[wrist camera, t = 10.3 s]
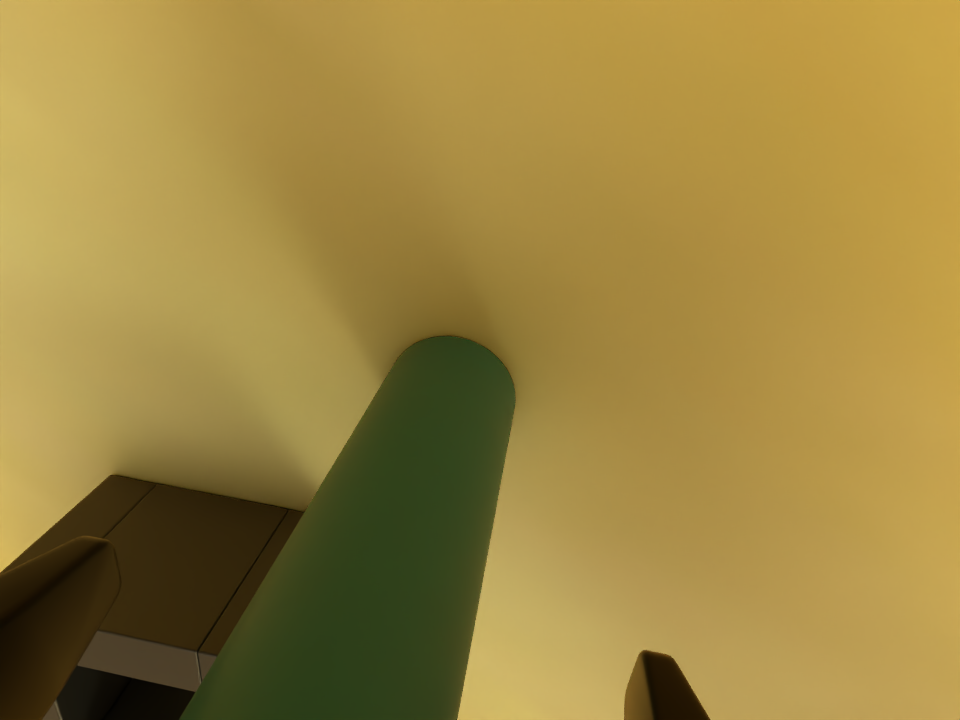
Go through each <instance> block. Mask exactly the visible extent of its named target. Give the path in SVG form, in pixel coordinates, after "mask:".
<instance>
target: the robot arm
mask: <svg viewBox="0 0 960 720" xmlns="http://www.w3.org/2000/svg"><path fill="white" fill-rule="evenodd" d="M121 582H122V579H121V574H120V569H119V565H118V560H117V555H116V551H115V547H114V545H113V543H112V542H111V541H109V540H107V539H102V538H97V537H92V536H81V537H77V538H75V539H73V540H71V541H69V542H67V543H65V544H62V545H60V546H58V547H56V548H54V549H52V550H50V551H48V552H46V553H44V554H42V555H40V556H38V557H36V558H34V559H31V560H29V561H27V562H25V563H23V564H21V565H19V566H17V567H15V568H13V569H11V570H9V571H7V572H5V573H3V574H0V720H42V719H43V718H44V716H45V715H46V713H47V712H48V711H49V709H50V708H51V706H52V705H53V703H54V702H55V700H56V699H57V697H58V696H59V694H60V692H61V691H62V689H63V688H64V686H65V685H66V683H67V681H68V680H69V678H70V676H71V675H72V673H73V671H74V669H75V668H76V666H77V664H78V663H79V661H80V659H81V658H82V656H83V654H84V653H85V651H86V649H87V648H88V646H89V644H90V643H91V641H92V639H93V637H94V636H95V634H96V632H97V631H98V629H99V627H100V626H101V624H102V622H103V621H104V619H105V617H106V616H107V614H108V612H109V610H110V609H111V607H112V605H113V604H114V602H115V600H116V599H117V597H118V594H119V592H120V589H121ZM624 720H710V718H709V717H708V715H707V713H706V712H705V710H704V708H703V706H702V705H701V703H700V701H699V700H698V698H697V696H696V695H695V693H694V691H693V690H692V688H691V686H690V685H689V683H688V681H687V680H686V678H685V676H684V675H683V673H682V671H681V670H680V668H679V666H678V664H677V663H676V661H675V660H674V659H673V658H672V657H671V656H669V655H667V654H662V653H657V652H652V651H648V650H643V651H641V653H640V654H639V655H638V658H637V660H636V663H635V666H634V669H633V671H632V674H631V677H630V680H629V683H628V685H627V689H626V694H625V705H624Z"/></svg>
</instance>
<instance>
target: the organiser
mask: <svg viewBox="0 0 960 720" xmlns="http://www.w3.org/2000/svg"><path fill="white" fill-rule="evenodd" d="M303 514H304V513H303V512H298V511H293V510H289V511H288V509H284V508H279V507H274V506H269V505H264V504H259V503H254V502H248V501H243V500H238V499H233V498H228V497H223V496H218V495H213V494H208V493H202V492H197V491H192V490H187V489H182V488H177V487H172V486H167V485H162V484H157V485H156V484H155V483H150V482H145V481H140V480H135V479H129V478H124V477H119V476H114V475H110V476H109V477H108V478H107V479H105V480H104V481H103V482H102V483H101V484H100V485H99V486H98V487H96V488H95V489H94V490H93V491H92V492H91V493H90V494H89V495H87V496H86V497H85V498H84V499H83V500H82V501H81V502H80V503H78V504H77V505H76V506H75V507H74V508H73V509H72V510H71V511H69V512H68V513H67V514H66V515H65V516H64V517H63V518H61V519H60V520H59V521H58V522H57V523H56V524H55V525H54V526H52V527H51V528H50V529H49V530H48V531H47V532H46V533H45V534H43V535H42V536H41V537H40V538H39V539H38V540H37V541H36V542H34V543H33V544H32V545H31V546H30V547H29V548H28V549H27V550H25V551H24V552H23V553H22V554H21V555H20V556H19V557H18V558H16V559H15V560H14V561H13V562H12V563H11V564H10V565H9V566H7V567H6V568H5V569H4V570H3V571H2V572H1V573H0V574H3V573H5V572H7V571H9V570H11V569H13V568H15V567H17V566H19V565H21V564H23V563H25V562H27V561H29V560H31V559H34V558H36V557H38V556H40V555H42V554H44V553H46V552H48V551H50V550H52V549H54V548H56V547H58V546H60V545H62V544H65V543H67V542H69V541H71V540H73V539H75V538H77V537H81V536H92V537H97V538H102V539H107V540H109V541H111V542H112V543H113V545H114V547H115V551H116V555H117V560H118V565H119V569H120V574H121V579H122V582H121V589H120V592H119V594H118V597H117V599H116V600H115V602H114V604H113V605H112V607H111V609H110V610H109V612H108V614H107V616H106V617H105V619H104V621H103V622H102V624H101V626H100V627H99V629H98V631H97V632H96V634H95V636H94V637H93V639H92V641H91V643H90V644H89V646H88V648H87V649H86V651H85V653H84V654H83V656H82V658H81V659H80V661H79V663H78V664H77V666H76V668H75V669H74V671H73V673H72V675H71V676H70V678H69V680H68V681H67V683H66V685H65V686H64V688H63V689H62V691H61V692H60V694H59V696H58V697H57V699H56V700H55V702H54V703H53V705H52V706H51V708H50V709H49V711H48V712H47V713H46V715H45V716H44V718H43V719H42V720H179V719H180V717H181V715H182V714H183V712H184V710H185V709H186V707H187V706H188V704H189V702H190V701H191V699H192V697H193V696H194V694H195V692H196V691H197V689H198V687H199V686H200V684H201V682H202V681H203V679H204V677H205V676H206V674H207V672H208V671H209V669H210V668H211V666H212V664H213V663H214V661H215V659H216V658H217V656H218V654H219V653H220V651H221V649H222V648H223V646H224V644H225V643H226V641H227V639H228V638H229V636H230V634H231V633H232V631H233V630H234V628H235V626H236V625H237V623H238V621H239V620H240V618H241V616H242V615H243V613H244V611H245V610H246V608H247V606H248V605H249V603H250V601H251V600H252V598H253V596H254V595H255V593H256V592H257V590H258V588H259V587H260V585H261V583H262V582H263V580H264V578H265V577H266V575H267V573H268V572H269V570H270V568H271V567H272V565H273V563H274V562H275V560H276V558H277V557H278V555H279V554H280V552H281V550H282V549H283V547H284V545H285V544H286V542H287V540H288V539H289V537H290V535H291V534H292V532H293V530H294V529H295V527H296V525H297V524H298V522H299V520H300V519H301V517H302V516H303Z"/></svg>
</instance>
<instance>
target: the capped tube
mask: <svg viewBox="0 0 960 720" xmlns="http://www.w3.org/2000/svg"><path fill="white" fill-rule="evenodd" d="M514 408H515V389H514V384H513V382H512V379H511V376H510V374H509V372H508V371H507V369H506V367H505V366H504V365H503V363H502V362H501V361H500V360H499V359H498V358H497V357H496V356H495V355H494V354H493V353H492V352H490V351H489V350H488V349H486V348H485V347H483V346H481V345H479V344H477V343H475V342H473V341H470V340H467V339H464V338H459V337H452V336H439V337H432V338H428V339H425V340H422V341H420V342H417V343H415V344H414V345H412V346H410V347H409V348H408V349H406V350H405V351H404V352H403V353H402V354H401V355H400V356H399V357H398V359H397V360H396V362H395V363H394V365H393V367H392V368H391V370H390V372H389V373H388V375H387V377H386V378H385V380H384V382H383V383H382V385H381V387H380V388H379V390H378V392H377V393H376V395H375V397H374V398H373V400H372V401H371V403H370V405H369V406H368V408H367V410H366V411H365V413H364V415H363V416H362V418H361V420H360V421H359V423H358V425H357V426H356V428H355V430H354V431H353V433H352V435H351V436H350V438H349V439H348V441H347V443H346V444H345V446H344V448H343V449H342V451H341V453H340V454H339V456H338V458H337V459H336V461H335V463H334V464H333V466H332V468H331V469H330V471H329V473H328V474H327V476H326V477H325V479H324V481H323V482H322V484H321V486H320V487H319V489H318V491H317V492H316V494H315V496H314V497H313V499H312V501H311V502H310V504H309V506H308V507H307V509H306V511H305V512H304V514H303V516H302V517H301V519H300V520H299V522H298V524H297V525H296V527H295V529H294V530H293V532H292V534H291V535H290V537H289V539H288V540H287V542H286V544H285V545H284V547H283V549H282V550H281V552H280V554H279V555H278V557H277V558H276V560H275V562H274V563H273V565H272V567H271V568H270V570H269V572H268V573H267V575H266V577H265V578H264V580H263V582H262V583H261V585H260V587H259V588H258V590H257V592H256V593H255V595H254V596H253V598H252V600H251V601H250V603H249V605H248V606H247V608H246V610H245V611H244V613H243V615H242V616H241V618H240V620H239V621H238V623H237V625H236V626H235V628H234V630H233V631H232V633H231V634H230V636H229V638H228V639H227V641H226V643H225V644H224V646H223V648H222V649H221V651H220V653H219V654H218V656H217V658H216V659H215V661H214V663H213V664H212V666H211V668H210V669H209V671H208V672H207V674H206V676H205V677H204V679H203V681H202V682H201V684H200V686H199V687H198V689H197V691H196V692H195V694H194V696H193V697H192V699H191V701H190V702H189V704H188V706H187V707H186V709H185V710H184V712H183V714H182V715H181V717H180V719H179V720H457V718H458V712H459V707H460V702H461V696H462V691H463V685H464V680H465V674H466V669H467V664H468V658H469V653H470V647H471V642H472V636H473V631H474V626H475V620H476V615H477V609H478V604H479V598H480V593H481V587H482V582H483V577H484V571H485V566H486V560H487V555H488V549H489V544H490V539H491V533H492V528H493V522H494V517H495V511H496V506H497V501H498V495H499V490H500V484H501V479H502V473H503V468H504V463H505V457H506V452H507V446H508V441H509V435H510V430H511V424H512V419H513V414H514Z"/></svg>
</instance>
